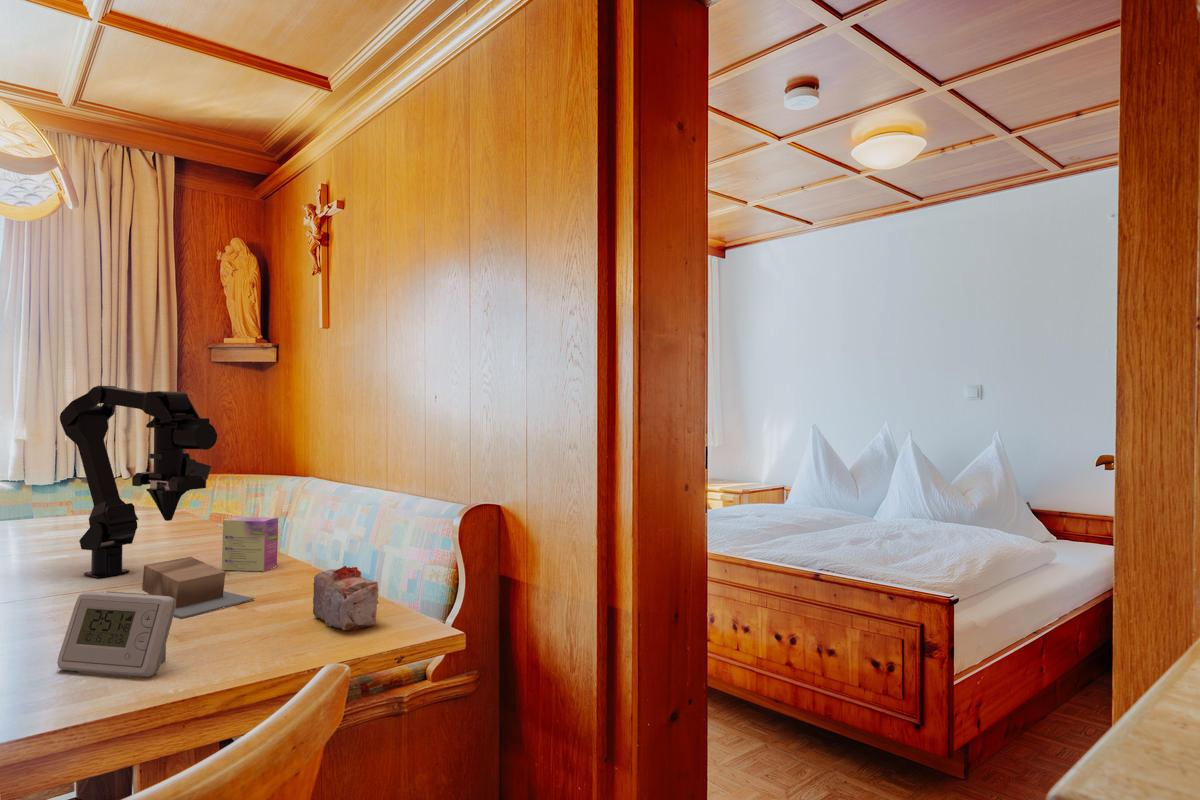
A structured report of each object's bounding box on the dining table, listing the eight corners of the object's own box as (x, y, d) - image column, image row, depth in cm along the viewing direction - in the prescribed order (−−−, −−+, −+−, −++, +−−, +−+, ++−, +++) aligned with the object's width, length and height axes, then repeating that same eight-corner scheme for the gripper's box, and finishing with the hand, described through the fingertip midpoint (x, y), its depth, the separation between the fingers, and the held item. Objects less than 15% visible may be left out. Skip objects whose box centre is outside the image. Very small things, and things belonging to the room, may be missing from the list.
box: (278, 566, 166) (278, 516, 166) (264, 572, 160) (264, 520, 160) (236, 565, 167) (237, 515, 167) (221, 570, 161) (222, 519, 161)
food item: (384, 626, 121) (385, 569, 122) (341, 637, 116) (341, 577, 116) (346, 610, 131) (347, 557, 131) (304, 619, 125) (305, 564, 125)
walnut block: (144, 565, 136) (178, 581, 130) (190, 556, 143) (225, 572, 137) (141, 590, 136) (176, 608, 130) (188, 580, 144) (222, 596, 138)
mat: (136, 606, 132) (136, 598, 132) (209, 589, 144) (209, 582, 144) (181, 618, 125) (182, 610, 125) (254, 600, 137) (254, 592, 137)
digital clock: (49, 671, 100) (51, 597, 100) (113, 651, 108) (114, 582, 108) (126, 689, 94) (127, 610, 94) (188, 666, 102) (189, 593, 102)
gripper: (230, 448, 155) (229, 519, 154) (182, 445, 164) (181, 512, 164) (179, 451, 145) (178, 526, 145) (131, 448, 154) (130, 518, 154)
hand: (168, 520), depth 152 cm, fingers closed
